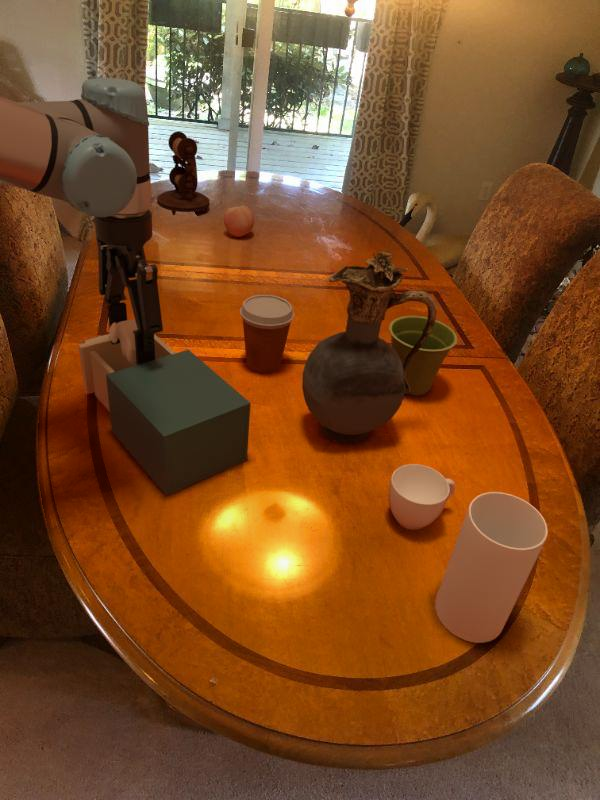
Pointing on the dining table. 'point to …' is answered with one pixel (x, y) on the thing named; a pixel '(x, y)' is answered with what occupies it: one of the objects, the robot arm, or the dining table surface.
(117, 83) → the robot arm
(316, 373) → the pitcher
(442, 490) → the cup
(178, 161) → the brown mechanical sculpture
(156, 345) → the drawer
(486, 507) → the cup
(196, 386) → the cabinet
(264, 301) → the disposable coffee cup
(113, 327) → the elephant figurine
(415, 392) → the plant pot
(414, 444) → the dining table surface
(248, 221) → the apple
